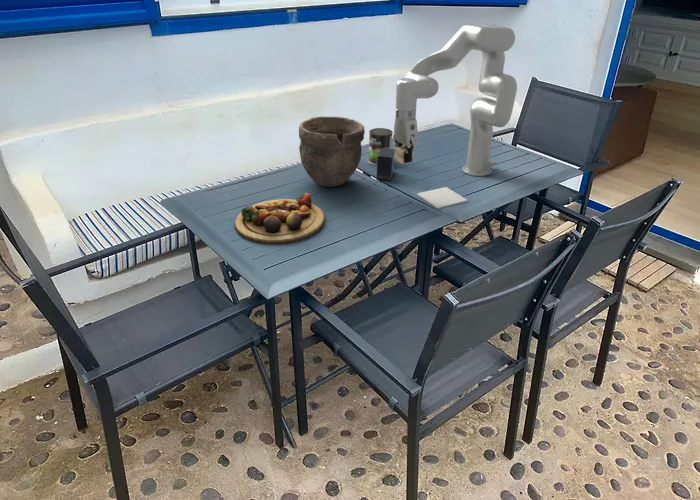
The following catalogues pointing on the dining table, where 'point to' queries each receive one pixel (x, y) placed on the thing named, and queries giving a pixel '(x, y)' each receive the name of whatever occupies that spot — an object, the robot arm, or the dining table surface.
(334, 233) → the dining table surface
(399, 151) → the maple cube
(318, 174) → the clay pot
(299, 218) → the wooden plate with food
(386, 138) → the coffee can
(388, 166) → the small box
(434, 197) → the off-white board
